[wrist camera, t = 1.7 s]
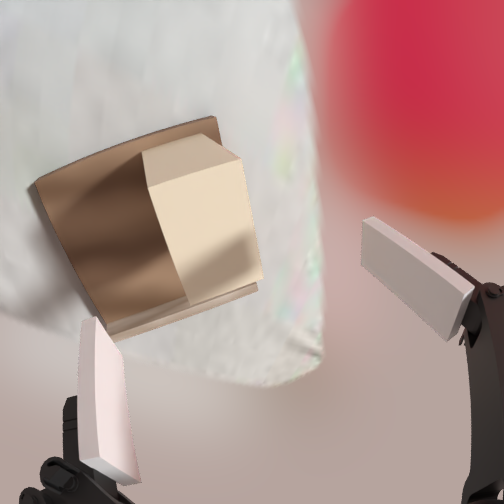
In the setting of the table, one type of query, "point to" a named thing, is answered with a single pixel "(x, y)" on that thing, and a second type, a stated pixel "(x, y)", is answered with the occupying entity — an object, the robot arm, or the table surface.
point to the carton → (204, 215)
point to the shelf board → (123, 234)
